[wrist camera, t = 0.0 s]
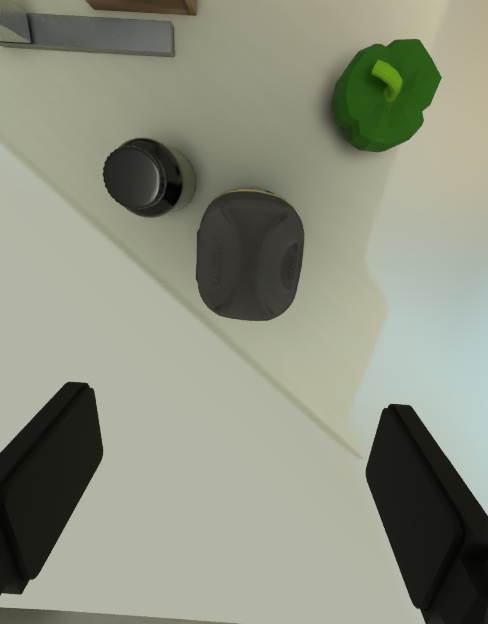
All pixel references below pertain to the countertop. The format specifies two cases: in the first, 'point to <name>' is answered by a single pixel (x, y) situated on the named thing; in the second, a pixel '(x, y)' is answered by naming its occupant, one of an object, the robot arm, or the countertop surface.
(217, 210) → the coffee jar
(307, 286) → the countertop surface
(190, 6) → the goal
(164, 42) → the rail
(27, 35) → the carriage
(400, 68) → the bell pepper
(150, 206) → the supplement bottle
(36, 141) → the countertop surface
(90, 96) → the countertop surface
